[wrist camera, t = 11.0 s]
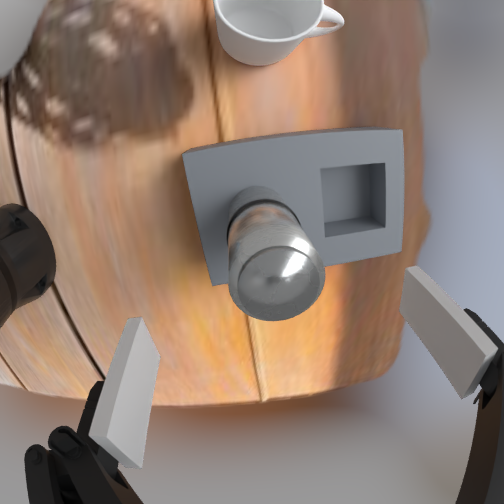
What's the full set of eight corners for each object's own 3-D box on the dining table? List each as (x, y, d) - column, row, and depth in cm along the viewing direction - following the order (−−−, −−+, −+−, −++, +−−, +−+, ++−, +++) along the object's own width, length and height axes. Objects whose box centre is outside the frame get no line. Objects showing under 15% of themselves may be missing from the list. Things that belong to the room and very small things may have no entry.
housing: (214, 260, 36) (212, 285, 31) (190, 148, 30) (182, 154, 25) (379, 232, 36) (401, 251, 31) (376, 126, 30) (402, 129, 25)
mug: (325, 72, 27) (366, 54, 17) (217, 68, 26) (211, 42, 17) (323, 10, 23) (358, -26, 14) (218, 3, 23) (214, -41, 13)
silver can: (232, 247, 29) (236, 335, 17) (221, 190, 26) (215, 249, 15) (291, 237, 29) (330, 318, 17) (284, 179, 26) (329, 230, 15)
